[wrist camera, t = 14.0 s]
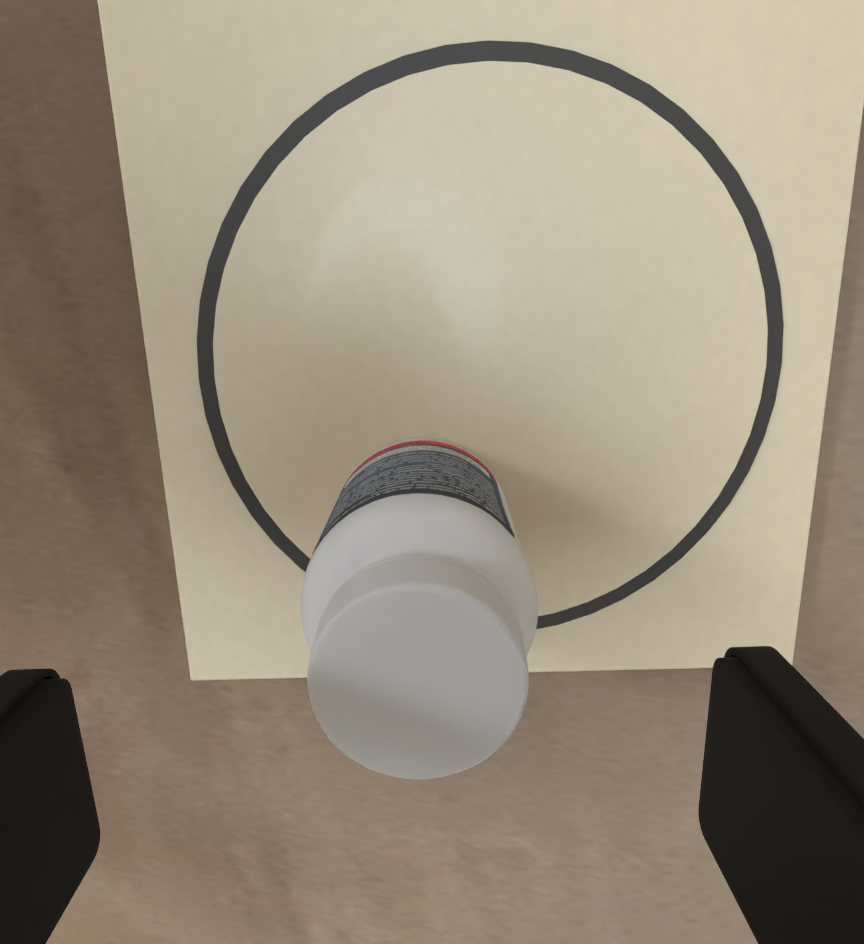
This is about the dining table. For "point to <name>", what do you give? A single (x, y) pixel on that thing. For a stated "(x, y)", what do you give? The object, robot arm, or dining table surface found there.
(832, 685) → the dining table surface
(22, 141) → the dining table surface
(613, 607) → the beige flat square board
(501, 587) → the pill bottle
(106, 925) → the dining table surface
